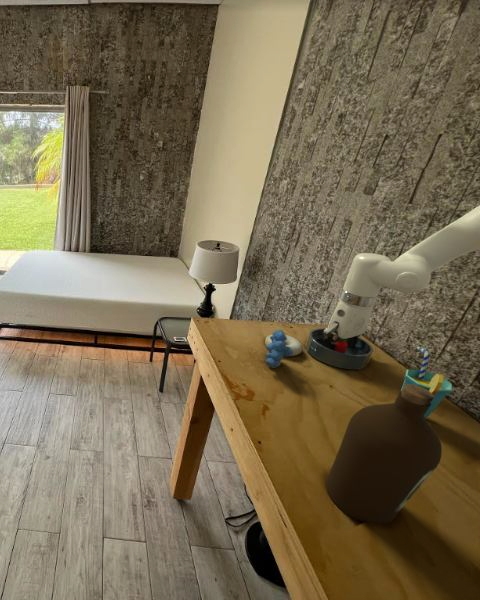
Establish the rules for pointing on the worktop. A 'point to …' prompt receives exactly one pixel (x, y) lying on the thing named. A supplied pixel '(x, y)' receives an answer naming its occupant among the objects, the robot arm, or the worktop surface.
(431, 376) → the cup
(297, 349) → the donut
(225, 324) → the worktop surface
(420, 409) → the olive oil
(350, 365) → the bowl
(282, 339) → the grapes
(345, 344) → the strawberry
